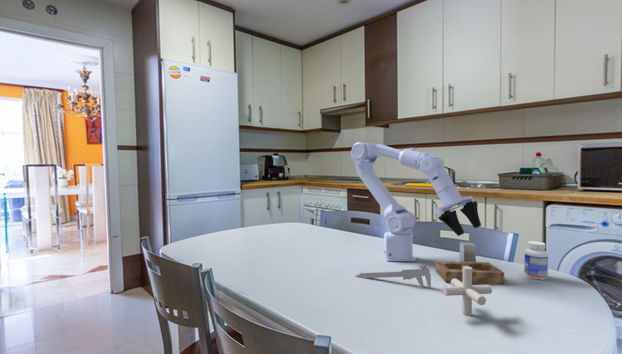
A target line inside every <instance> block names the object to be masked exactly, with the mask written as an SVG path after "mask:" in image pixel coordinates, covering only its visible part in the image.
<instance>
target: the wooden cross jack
mask: <svg viewBox="0 0 622 354" xmlns="http://www.w3.org/2000/svg"><path fill="white" fill-rule="evenodd" d="M450 284H451V286H443V287H442V288H441V289H442V294H443V295H444V296H445V297H449V296H450V297H451V296H462V301H461V303H462V305H461V306H462V307H461V309H462V314H463V315H464V316H468V317H470V316H473V315H472V314H473V313H472V312H473V301H474V303H476V304H477V305H479V306H485V304H486V302H487V298H486V297H485V296H484V295H489V294H490V295H491V294H492V292H493V289H492V286H491V285H490V284H479V285H478V284H477V285H474V284H473V283H472V268H471V267H468V266H463V283H462V282H461V281H459V280H458V279H456V278H454V279H452V280H451V283H450Z"/></svg>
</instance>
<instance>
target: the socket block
mask: <svg viewBox="0 0 622 354" xmlns="http://www.w3.org/2000/svg"><path fill="white" fill-rule="evenodd" d="M463 266H468V267H471V268H472V284H489V285H490V284H491V285H492V284H495V285H496V284H498V285H499V284H502V285H505V272H504V271H502V270H501V269H499V268H498V267H497V266H495V265H493V264H492V263H490V262H488V261H486V262H485V261H476V262H460V261H438V260H437V261H435V272H436V274H437V275H438V276H439V277H440V278H441V279H442V280H443V281H444V282H445V284H446V283H448V284H451V280H452V279H454V278H456V279H458V280H459V281H461V282H462V283H463Z"/></svg>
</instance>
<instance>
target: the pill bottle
mask: <svg viewBox="0 0 622 354" xmlns="http://www.w3.org/2000/svg"><path fill="white" fill-rule="evenodd" d="M527 247H528V248H525V249H524V260H523V261H524V263H523V264H524V265H523V267H524V268H523V270H524V273H523V274H524V276H525V277H527V278H530V279H532V278H533V280H538V279H539V280H541V281H543V280H544V281H546V280H547V279H548V276H549V275H548V274H549V273H548V271H549V253H548V251H546V243H545V242H542V241H536V240H529V241H528V242H527ZM539 280H538V281H539Z"/></svg>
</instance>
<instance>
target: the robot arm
mask: <svg viewBox="0 0 622 354" xmlns="http://www.w3.org/2000/svg"><path fill="white" fill-rule="evenodd" d="M381 156H384V157H387V158H390V159H394V160H398V162H399V163H400V164H401V165H402V166H405V167H407V168H411V169H414V170H417V171H420V172H421V173H422V174H424V175H426V176H427V178H428V180H429V183H430V184H431V186H432V188H433V189H434V191H435V193H436V195H437V196H438V198H439V199H440V202H441V204H442V206H440V207H438V208H436V209H434V211H435V214H436V215H437V217H438V220H439V221H440V222H442V223H444V224H445V225H446V226H448V227H449V228H450V230H452V231H453V233H455V234H456V235H457V237H460V236H462V235H463V234H465V231H464V228H463V227H462V225H461V223H460V220H459V218H458V214H457V209H459V208H460V209H459V211H460V212H461V213H462V214H464V216H465V217H466V218H467V219H468V221H469V223H470V225H472V227H473V228H474V229H476V228H479V227H482V223H481V221H480V216H479V212H478V211H479V210H478V202H477V201H476V200H475V199H474V197H473V196H472V195H470V196H466V197H465V196H463V197H462V195H461V193H460V191H459V190H458V189H457V187H456V185H455V183H454V182H453V179H452V178H451V176H450V175H449V173H448V172H447V171H446V168H445V163H444V160H443V159H442V158H441V157H440V156H438V155H437V154H433V155H429V152H426V151H424V152H420V151H418V150H416V149H415V148H414V147H409V148H405V149H404V150H401V149H397V148H394V147H390V146H387V145H385V144H381V143H374V142H373V143H372V142H371V143H370V142H369V143H368V142H360V141H358V142H356V143H354V144H353V146H352V148H351V151H350V157H351V159H352V161H353V163H354V167H355V172H356V174H357V176H358V177H359V179H360V180H361V181H362V183H364V185H365V186H366V188H367V189H368V191H369V192H370V193H371V195H372V196H373V198H374V199H375V200H376V202H377V203H378V204H379V206H380V208H381V209H382V210H383V211H384V212H383V218H384V220H385V221H386V222H385V223H386V226H387V229H388V230H389V231H386V232H384V234H383V256H384V258H385V259H386V261H387V262H417V260H416V258H415V257H414V256H413V235H414V234H413V229H414V227H415V226H416V224H417V219H416V216H415V214H414V213H412V212H411V211H409V210H407V208H406V207H405V206H403V205H402V204H400V203H398V202H397V200H396V199H395V198H394V196H393V195H392V194H391V192H390V190H388V188H387V187H386V186H385V184H384V183H383V182H382V180H381V179H380V178H379V176H378V175H377V174H376V172H375V171H374V170H373V168H374V166H375V164H376V161H377V159H378V158H379V157H381Z"/></svg>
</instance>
